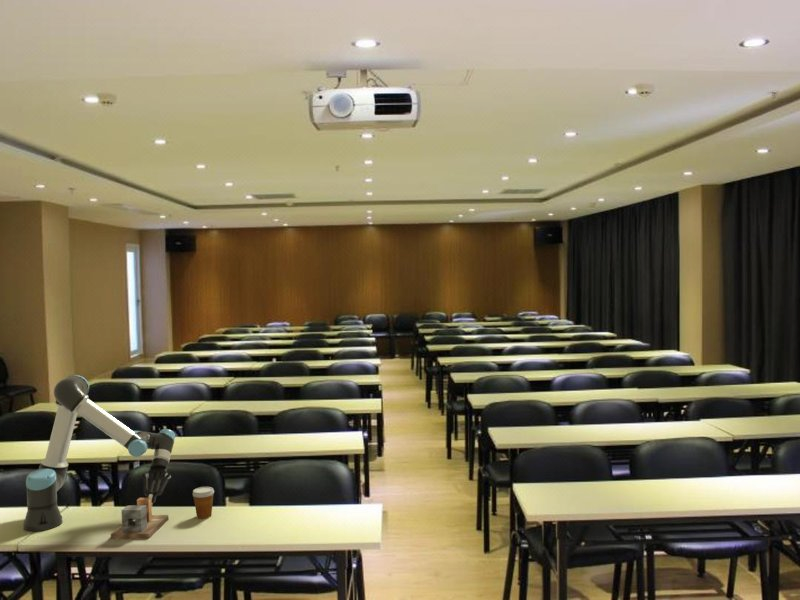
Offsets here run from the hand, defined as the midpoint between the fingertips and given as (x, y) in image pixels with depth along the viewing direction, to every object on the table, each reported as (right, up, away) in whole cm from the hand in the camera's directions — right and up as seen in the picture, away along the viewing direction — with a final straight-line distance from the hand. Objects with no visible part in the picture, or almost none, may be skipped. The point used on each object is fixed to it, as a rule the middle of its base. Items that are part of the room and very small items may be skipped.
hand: (148, 509), depth 306 cm
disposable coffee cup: (+23, -5, +7) cm, 24 cm away
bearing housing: (-1, -6, -8) cm, 10 cm away
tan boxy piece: (-1, -4, -8) cm, 8 cm away
